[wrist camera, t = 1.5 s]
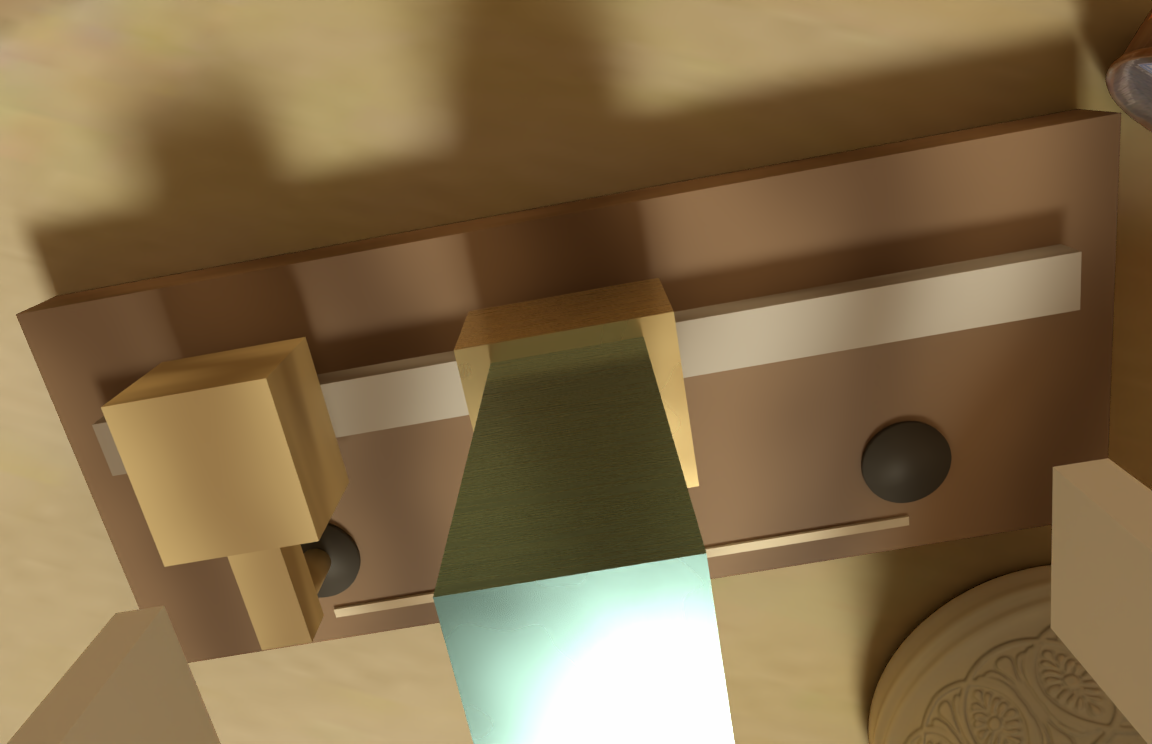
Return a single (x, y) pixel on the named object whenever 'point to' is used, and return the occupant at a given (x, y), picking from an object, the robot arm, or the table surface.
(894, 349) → the gauge board
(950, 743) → the jar
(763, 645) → the table surface
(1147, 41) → the tin
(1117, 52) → the table surface
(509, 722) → the slider
